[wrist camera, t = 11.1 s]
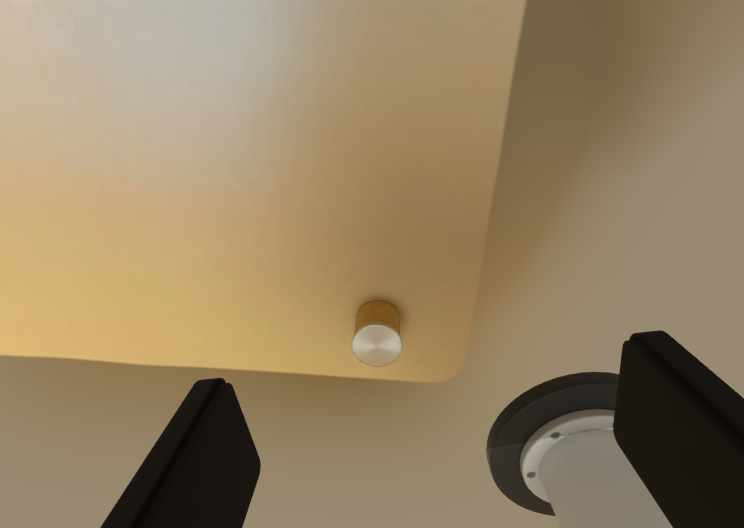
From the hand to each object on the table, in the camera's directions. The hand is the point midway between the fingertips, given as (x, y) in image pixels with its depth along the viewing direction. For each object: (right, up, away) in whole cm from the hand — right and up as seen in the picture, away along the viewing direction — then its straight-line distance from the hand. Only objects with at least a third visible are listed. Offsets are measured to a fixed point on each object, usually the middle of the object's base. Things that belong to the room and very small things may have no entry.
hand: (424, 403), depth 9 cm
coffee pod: (-1, -1, +22) cm, 22 cm away
